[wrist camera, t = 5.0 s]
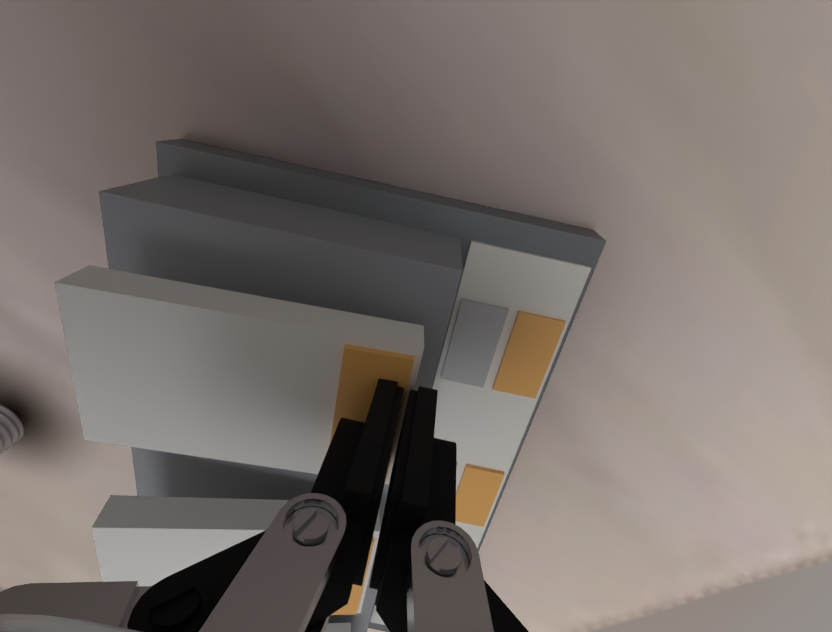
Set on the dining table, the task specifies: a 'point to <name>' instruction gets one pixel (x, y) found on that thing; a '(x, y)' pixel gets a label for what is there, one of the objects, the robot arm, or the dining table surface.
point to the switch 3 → (338, 627)
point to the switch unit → (364, 300)
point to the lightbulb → (9, 428)
